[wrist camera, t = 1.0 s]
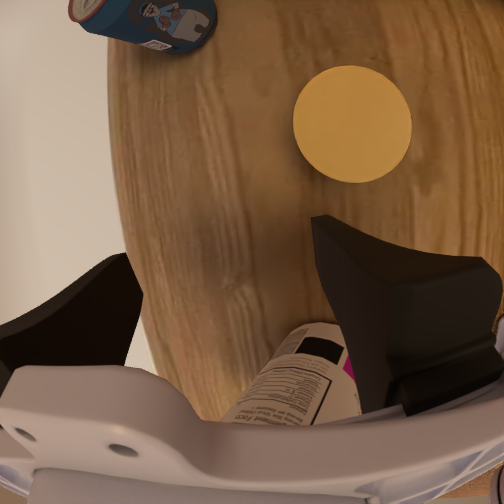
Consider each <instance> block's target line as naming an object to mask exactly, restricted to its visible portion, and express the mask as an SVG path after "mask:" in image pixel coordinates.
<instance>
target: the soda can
mask: <svg viewBox="0 0 504 504" xmlns="http://www.w3.org/2000/svg"><path fill="white" fill-rule="evenodd" d="M68 14H69V17H70V19H71V20H72V21H74V22H78V23H79V24H80V25H81V26H82V27H83V28H84V29H85V30H86V31H87V32H89V33H93V34H98V35H103V36H107V37H111V38H115V39H119V40H123V41H127V42H131V43H134V44H138V45H141V46H145V47H148V48H152V49H155V50H158V51H162V52H165V53H168V54H181V53H184V52H187V51H190V50H192V49H194V48H197V47H198V46H200V45H201V44H203V43H204V42H205V41H206V40H207V39H208V38H209V37H210V35H211V34H212V32H213V30H214V28H215V25H216V20H217V15H216V7H215V4H214V1H213V0H70V1H69V6H68Z"/></svg>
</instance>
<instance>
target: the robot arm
mask: <svg viewBox="0 0 504 504" xmlns="http://www.w3.org/2000/svg"><path fill="white" fill-rule="evenodd" d="M311 225H312V234H313V243H314V253H315V263H316V268H317V271H318V275H319V278H320V282H321V285H322V288H323V290H324V292H325V295H326V297H327V299H328V302H329V304H330V306H331V308H332V311H333V313H334V315H335V318H336V320H337V322H338V325H339V327H340V329H341V332H342V335H343V337H344V341H345V344H346V348H347V351H348V355H349V359H350V362H351V366H352V370H353V374H354V378H355V382H356V387H357V391H358V396H359V400H360V405H361V410H362V415H358V416H354V417H350V418H346V419H341V420H337V421H332V422H327V423H322V424H317V425H258V424H240V423H227V422H216V421H204V420H202V419H200V418H199V416H198V415H197V414H196V412H195V411H194V409H193V408H192V406H191V404H190V403H189V401H188V399H187V398H186V397H185V396H184V395H183V394H181V393H180V392H179V391H178V390H177V389H176V388H175V387H174V386H173V385H172V384H171V383H170V382H169V381H167V380H166V379H164V378H161V377H159V376H157V375H155V374H152V373H150V372H148V371H146V370H143V369H141V368H133V367H126V366H124V364H125V360H126V357H127V353H128V350H129V347H130V344H131V341H132V338H133V335H134V332H135V329H136V326H137V323H138V320H139V316H140V312H141V307H142V300H143V292H142V290H141V287H140V285H139V283H138V280H137V278H136V276H135V273H134V271H133V269H132V266H131V264H130V262H129V259H128V257H127V254H126V252H125V253H120V254H115V255H112V256H110V257H108V258H106V259H105V260H103V261H102V262H100V263H99V264H97V265H96V266H94V267H93V268H92V269H90V270H89V271H88V272H87V273H85V274H84V275H83V276H81V277H80V278H78V279H77V280H76V281H74V282H73V283H72V284H70V285H69V286H68V287H66V288H65V289H64V290H62V291H61V292H60V293H58V294H57V295H55V296H54V297H52V298H51V299H49V300H48V301H46V302H44V303H43V304H41V305H40V306H38V307H36V308H34V309H33V310H31V311H29V312H27V313H25V314H23V315H22V316H20V317H18V318H16V319H14V320H12V321H9V322H7V323H5V324H2V325H0V485H1V486H3V487H5V488H7V489H9V490H11V491H13V492H15V493H17V494H19V495H22V496H24V497H26V498H28V500H27V504H423V503H426V502H428V501H430V500H432V499H435V498H437V497H439V496H441V495H443V494H445V493H447V492H449V491H451V490H453V489H455V488H457V487H459V486H461V485H463V484H465V483H467V482H469V481H471V480H472V479H474V478H476V477H478V476H480V475H481V474H483V473H485V472H486V471H488V470H490V469H492V468H493V467H495V466H497V465H498V464H500V463H501V462H503V461H504V317H502V318H501V319H500V320H499V323H498V329H497V335H496V336H495V335H494V334H493V332H492V331H491V328H492V326H493V323H494V320H495V317H496V315H497V312H498V309H499V306H500V302H501V298H502V293H503V287H502V280H501V278H500V275H499V274H498V273H497V272H496V271H495V270H494V269H493V268H492V267H491V266H490V265H489V264H488V263H487V262H486V261H485V260H484V259H483V258H482V257H471V256H450V255H441V254H434V253H427V252H422V251H417V250H413V249H408V248H405V247H401V246H397V245H394V244H391V243H388V242H385V241H382V240H380V239H377V238H375V237H373V236H370V235H368V234H366V233H363V232H361V231H359V230H357V229H355V228H353V227H351V226H349V225H347V224H345V223H343V222H341V221H340V220H338V219H336V218H334V217H332V216H330V215H321V216H315V217H311ZM488 504H504V464H503V465H502V466H500V467H499V468H498V469H497V470H496V471H495V473H494V474H493V476H492V479H491V483H490V489H489V495H488Z"/></svg>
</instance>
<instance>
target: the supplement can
mask: <svg viewBox="0 0 504 504" xmlns="http://www.w3.org/2000/svg"><path fill="white" fill-rule="evenodd" d="M360 408H361V405H360V400H359V396H358V391H357V387H356V382H355V378H354V374H353V370H352V366H351V362H350V359H349V355H348V351H347V348H346V344H345V341H344V337H343V335H342V332H341V329H340V327H339V326H338V325H333V324H328V323H322V322H319V323H311V324H304V325H303V326H301V327H299V328H297V329H295V330H293V331H291V333H290V334H289V335H288V336H287V337H286V339H285V340H284V341H283V342H282V344H281V345H280V346H279V348H278V349H277V350H276V352H275V353H274V354H273V356H272V357H271V358H270V360H269V361H268V362H267V363H266V365H265V366H264V367H263V369H262V370H261V371H260V372H259V374H258V375H257V376H256V377H255V379H254V380H253V381H252V383H251V384H250V385H249V386H248V388H247V389H246V390H245V391H244V392H243V394H242V395H241V396H240V397H239V399H238V400H237V401H236V402H235V404H234V405H233V406H232V407H231V408H230V410H229V411H228V412H227V413H226V414H225V416H224V417H223V418H222V419H221V420H220V421H219V422H227V423H240V424H258V425H317V424H322V423H327V422H332V421H337V420H341V419H346V418H350V417H354V416H358V415H359V412H360Z"/></svg>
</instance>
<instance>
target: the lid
mask: <svg viewBox="0 0 504 504" xmlns="http://www.w3.org/2000/svg"><path fill="white" fill-rule="evenodd" d="M293 129H294V135H295V139H296V141H297V144H298V146H299V148H300V150H301V152H302V154H303V155H304V157H305V158H306V159H307V160H308V162H309V163H310V164H311V165H312V166H313V167H314V168H316V169H317V170H318V171H320V172H321V173H323V174H324V175H326V176H328V177H330V178H333V179H335V180H338V181H343V182H349V183H362V182H368V181H372V180H375V179H377V178H380V177H382V176H384V175H385V174H387V173H388V172H390V171H391V170H393V169H394V168H395V167H396V166H397V165H398V164H399V163H400V161H401V160H402V158H403V157H404V155H405V153H406V151H407V149H408V146H409V143H410V140H411V133H412V116H411V114H410V111H409V107H408V105H407V103H406V100H405V98H404V97H403V95H402V93H401V92H400V91H399V89H398V88H397V87H396V86H395V85H394V84H393V83H392V82H391V81H390V80H389V79H387V78H386V77H385V76H383V75H381V74H380V73H378V72H376V71H374V70H371V69H368V68H365V67H360V66H339V67H335V68H331V69H328V70H326V71H324V72H322V73H320V74H318V75H317V76H316V77H314V78H313V79H312V80H311V81H310V82H309V83H308V84H307V85H306V86H305V87H304V89H303V90H302V92H301V93H300V95H299V97H298V99H297V102H296V105H295V108H294V114H293Z"/></svg>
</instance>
